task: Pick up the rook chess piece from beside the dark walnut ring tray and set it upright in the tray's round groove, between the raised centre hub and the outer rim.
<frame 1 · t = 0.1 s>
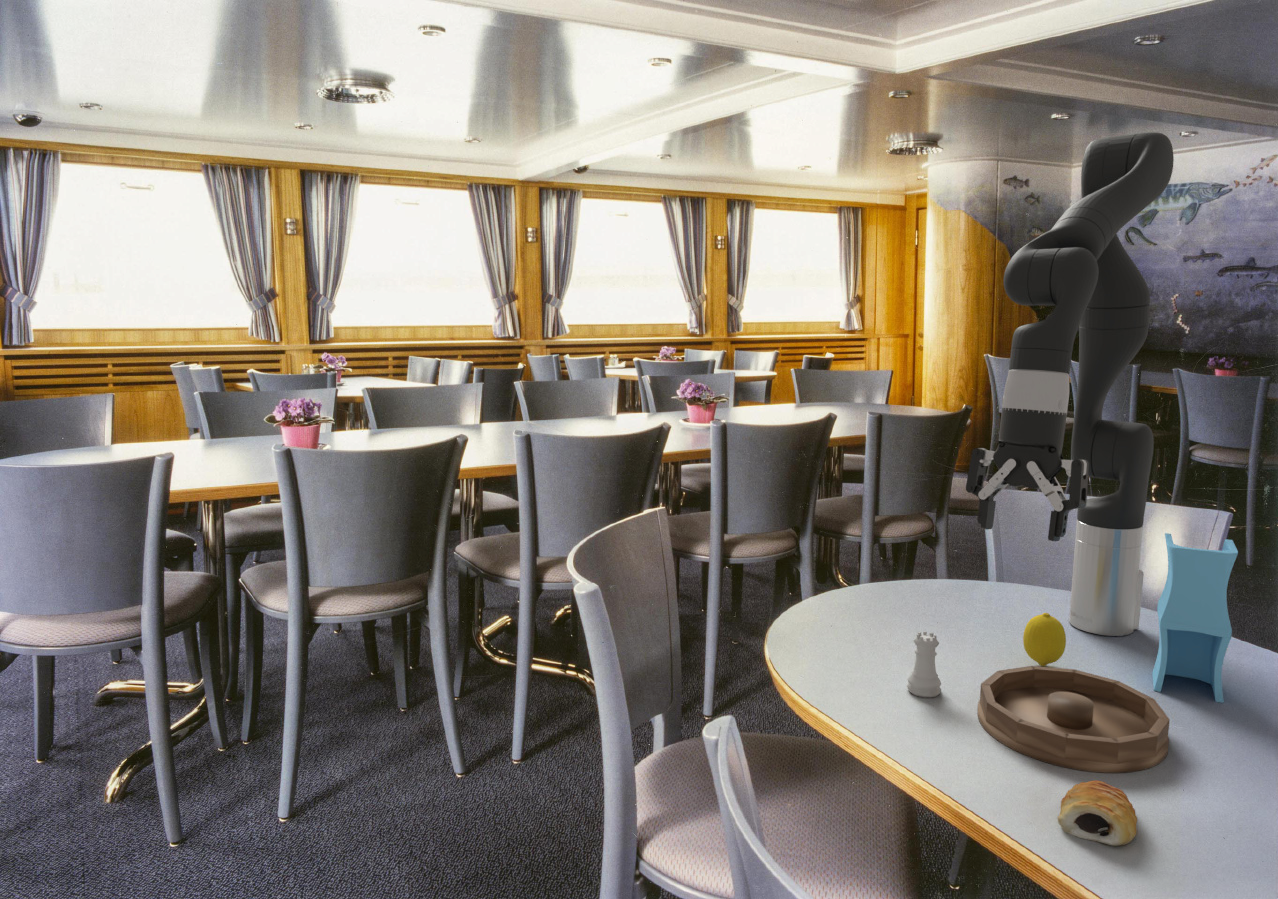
hand: (1019, 534, 111), 22 cm above the table, tool pointing down, fingers open, 8 cm apart
ring tray: (1068, 727, 107), on the table
pastry: (1095, 826, 87), on the table
rook chess piece: (923, 692, 117), on the table
lemon: (1042, 667, 125), on the table
blue wavy stand: (1185, 686, 118), on the table
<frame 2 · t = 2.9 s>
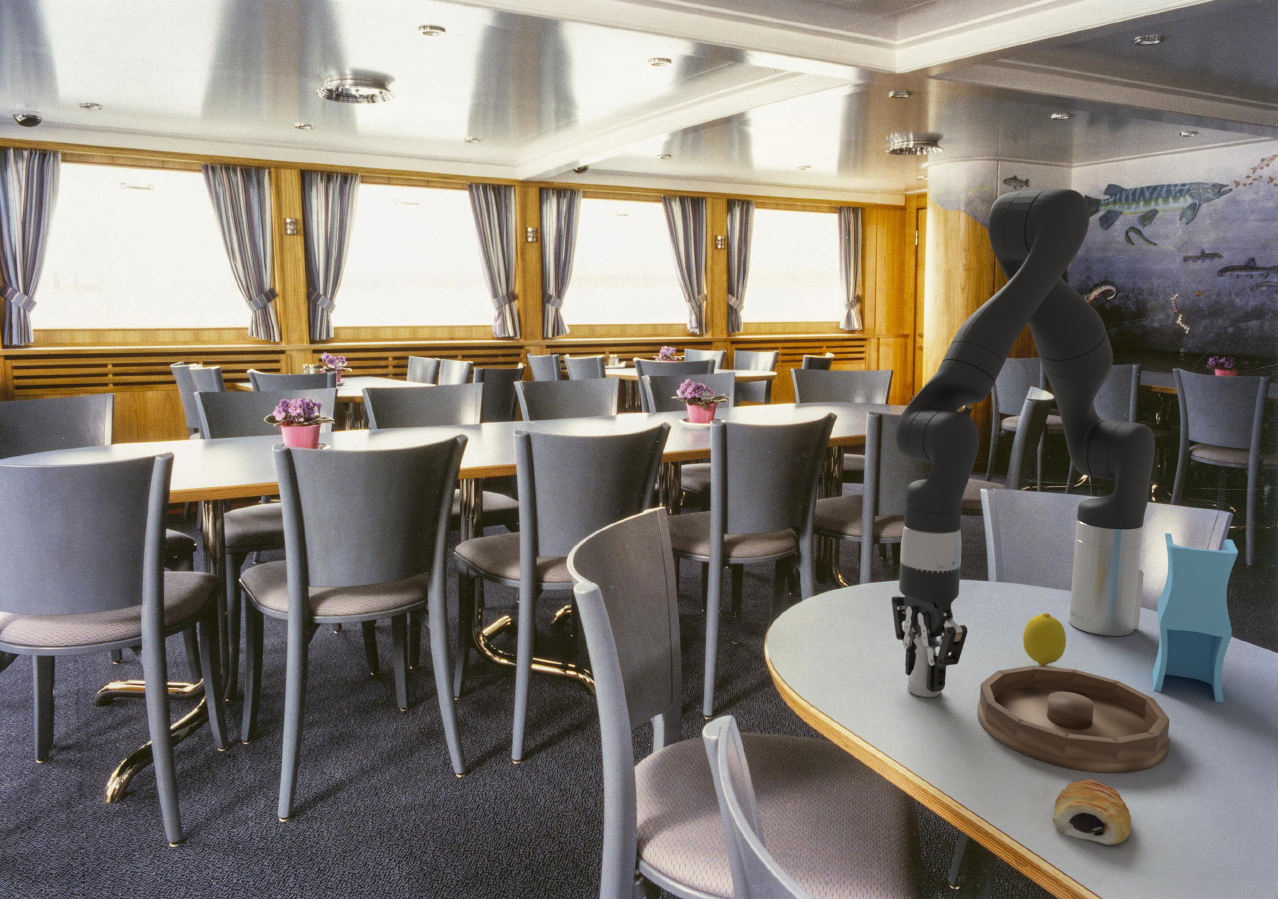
hand: (924, 681, 117), 1 cm above the table, tool pointing down, fingers closed on rook chess piece, 4 cm apart
rook chess piece: (923, 692, 117), on the table, touching gripper
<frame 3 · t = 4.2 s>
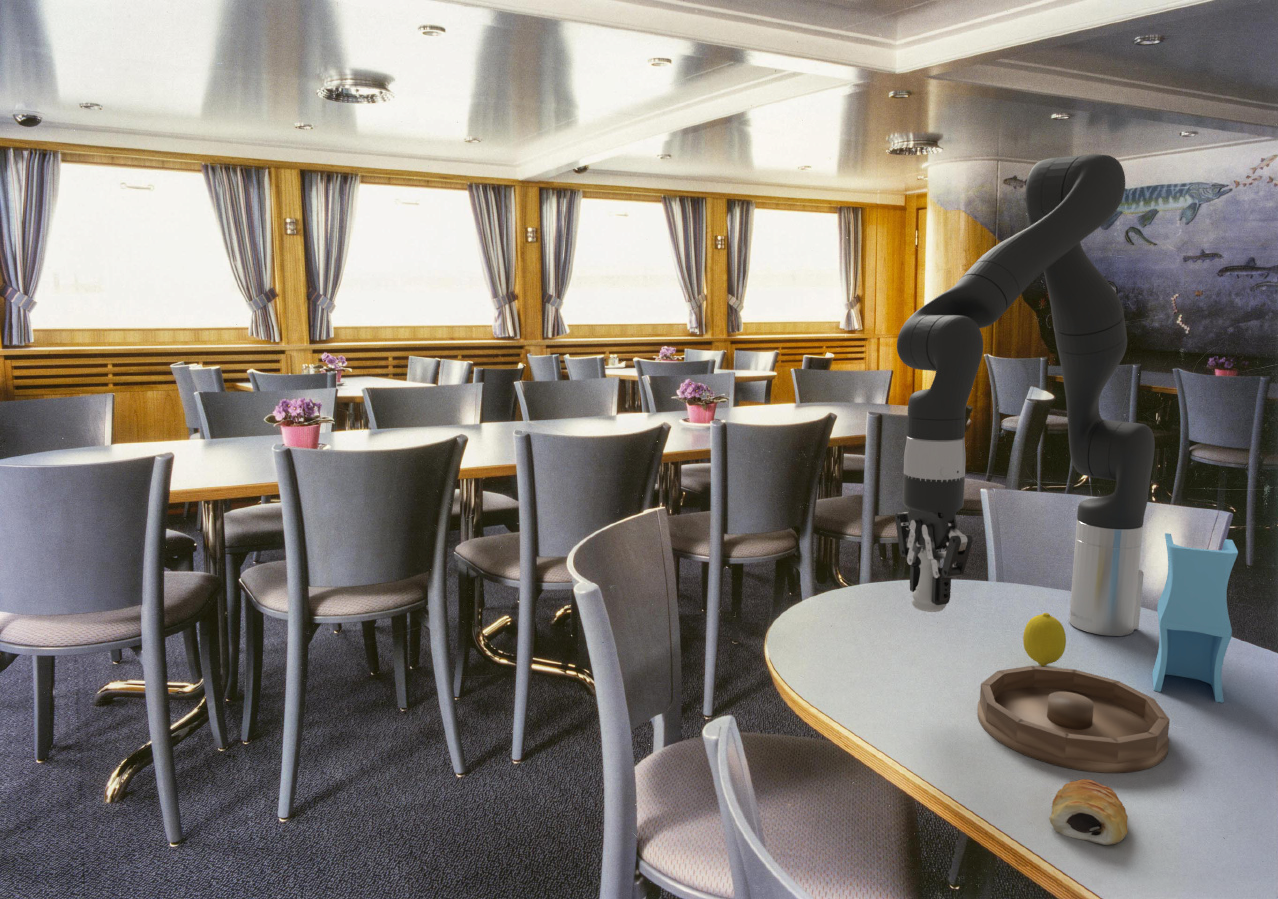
hand: (928, 596, 115), 13 cm above the table, tool pointing down, fingers closed on rook chess piece, 4 cm apart
rook chess piece: (928, 608, 115), point 12 cm above the table, touching gripper
everything else where it was.
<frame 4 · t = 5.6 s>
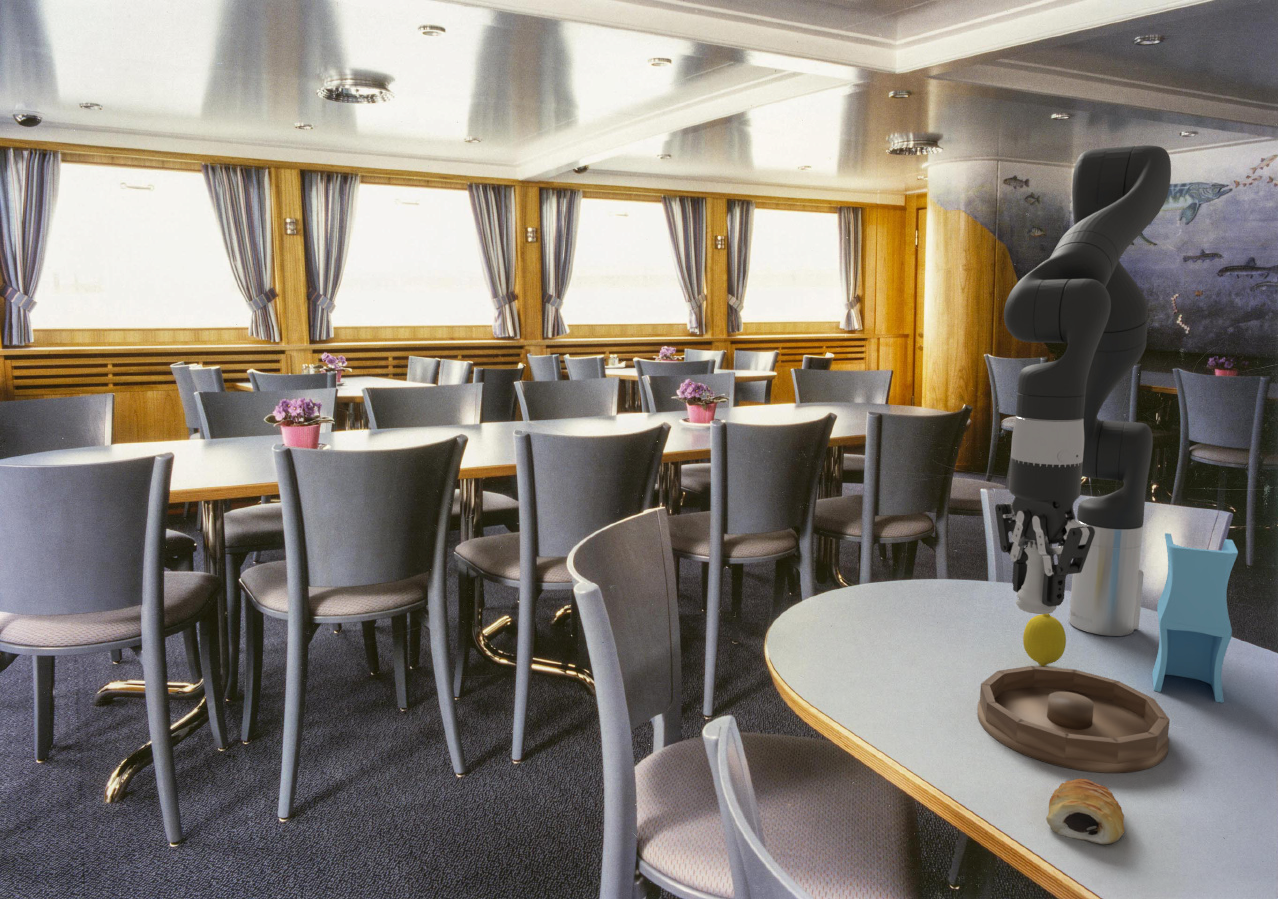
hand: (1036, 597, 103), 17 cm above the table, tool pointing down, fingers closed on rook chess piece, 4 cm apart
rook chess piece: (1035, 610, 103), point 16 cm above the table, touching gripper
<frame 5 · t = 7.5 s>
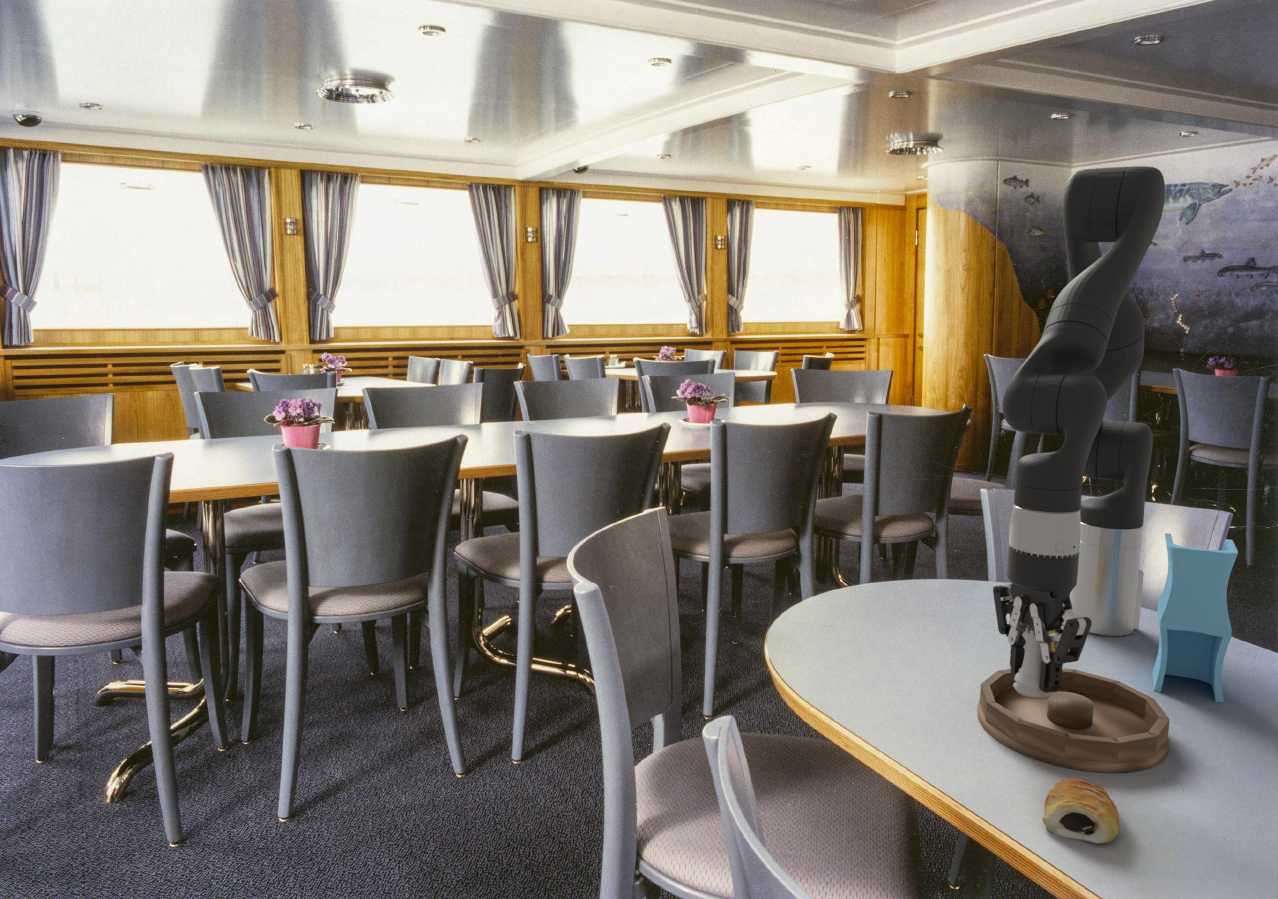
hand: (1033, 681, 104), 7 cm above the table, tool pointing down, fingers closed on rook chess piece, 4 cm apart
rook chess piece: (1032, 693, 104), point 5 cm above the table, touching gripper
when the fingers open (3 cm above the table, at t = 8.7 s): rook chess piece stays where it is, resting on ring tray.
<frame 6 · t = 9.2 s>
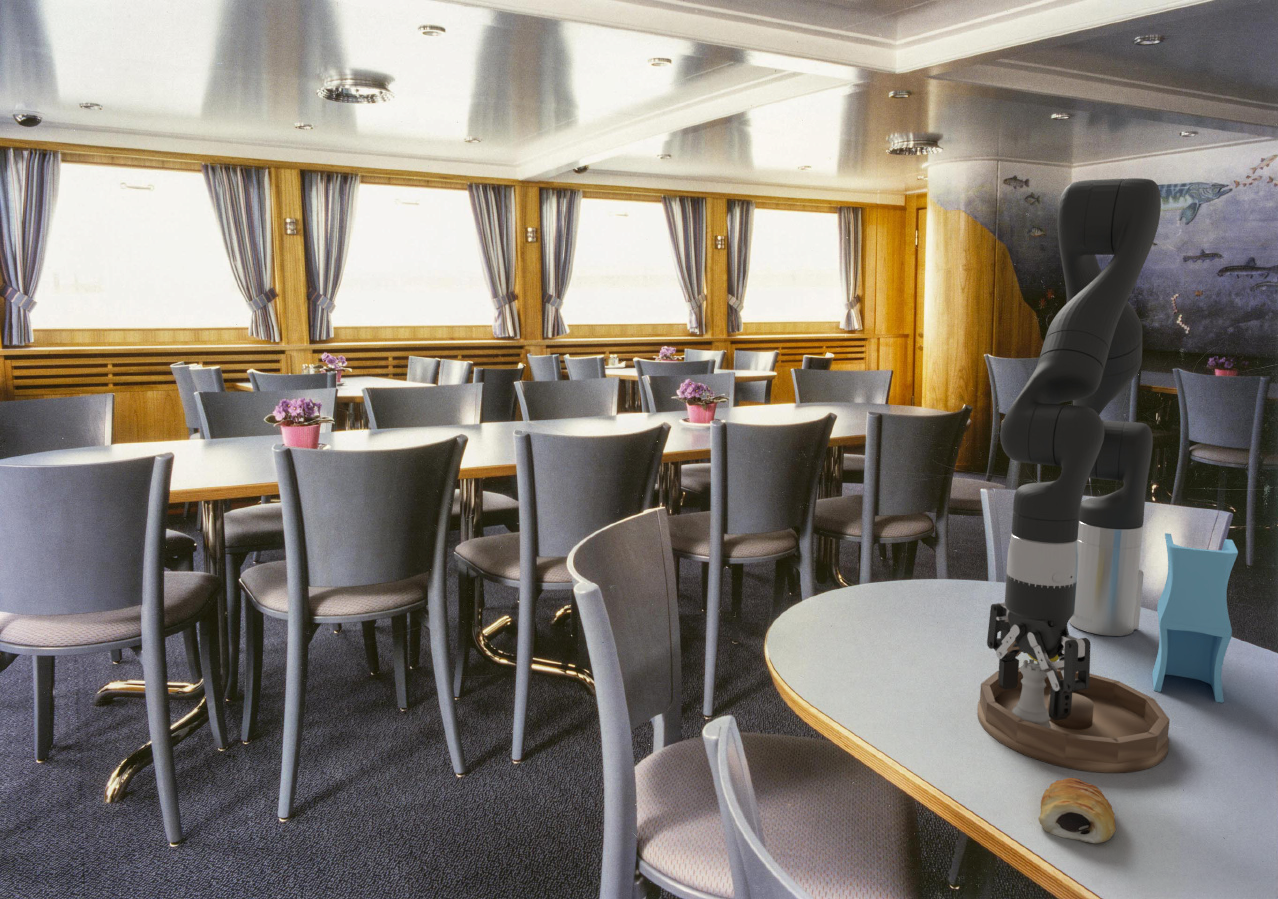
hand: (1032, 702, 104), 4 cm above the table, tool pointing down, fingers open, 8 cm apart
rook chess piece: (1030, 727, 105), point 1 cm above the table, touching ring tray
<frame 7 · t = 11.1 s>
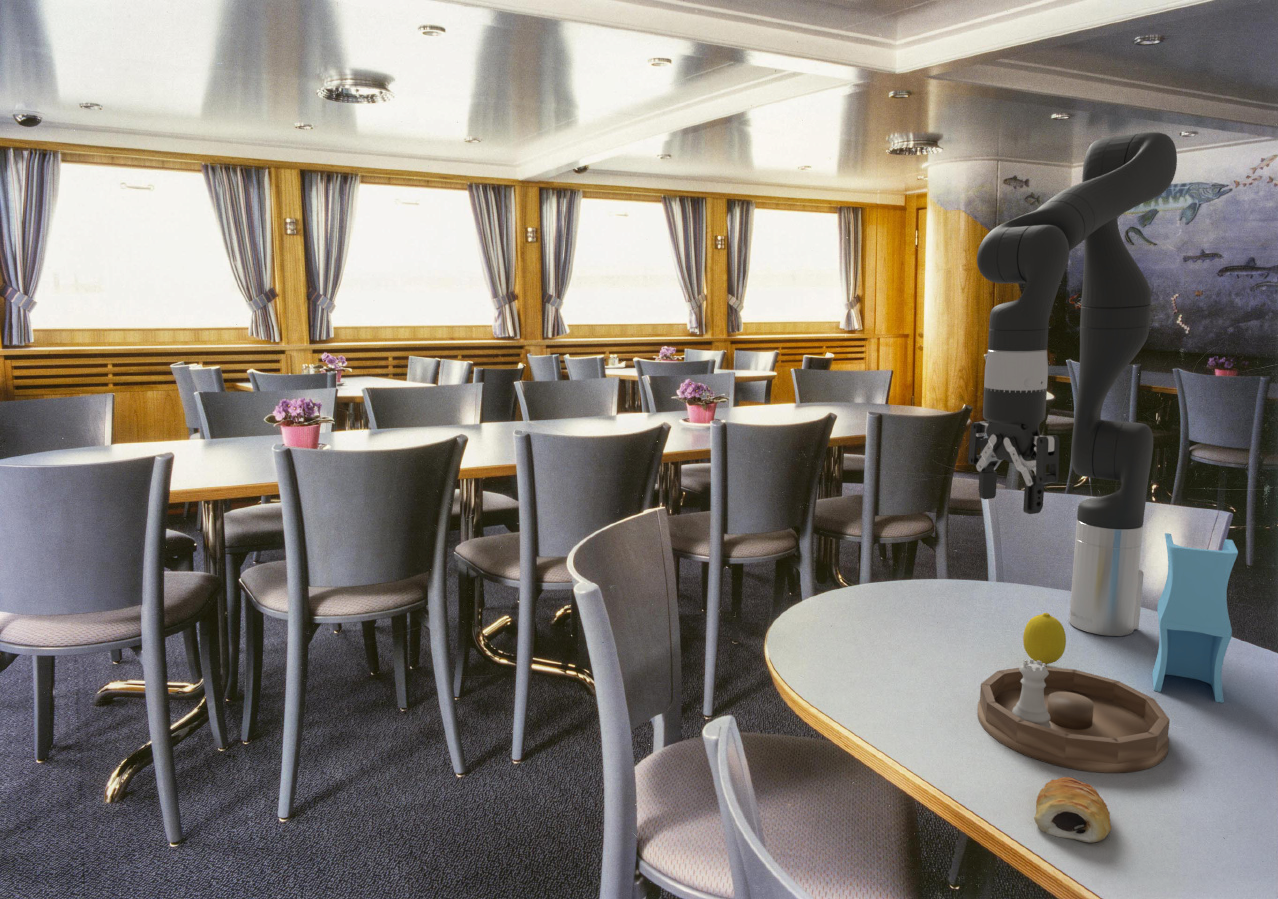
hand: (1008, 505, 116), 25 cm above the table, tool pointing down, fingers open, 8 cm apart
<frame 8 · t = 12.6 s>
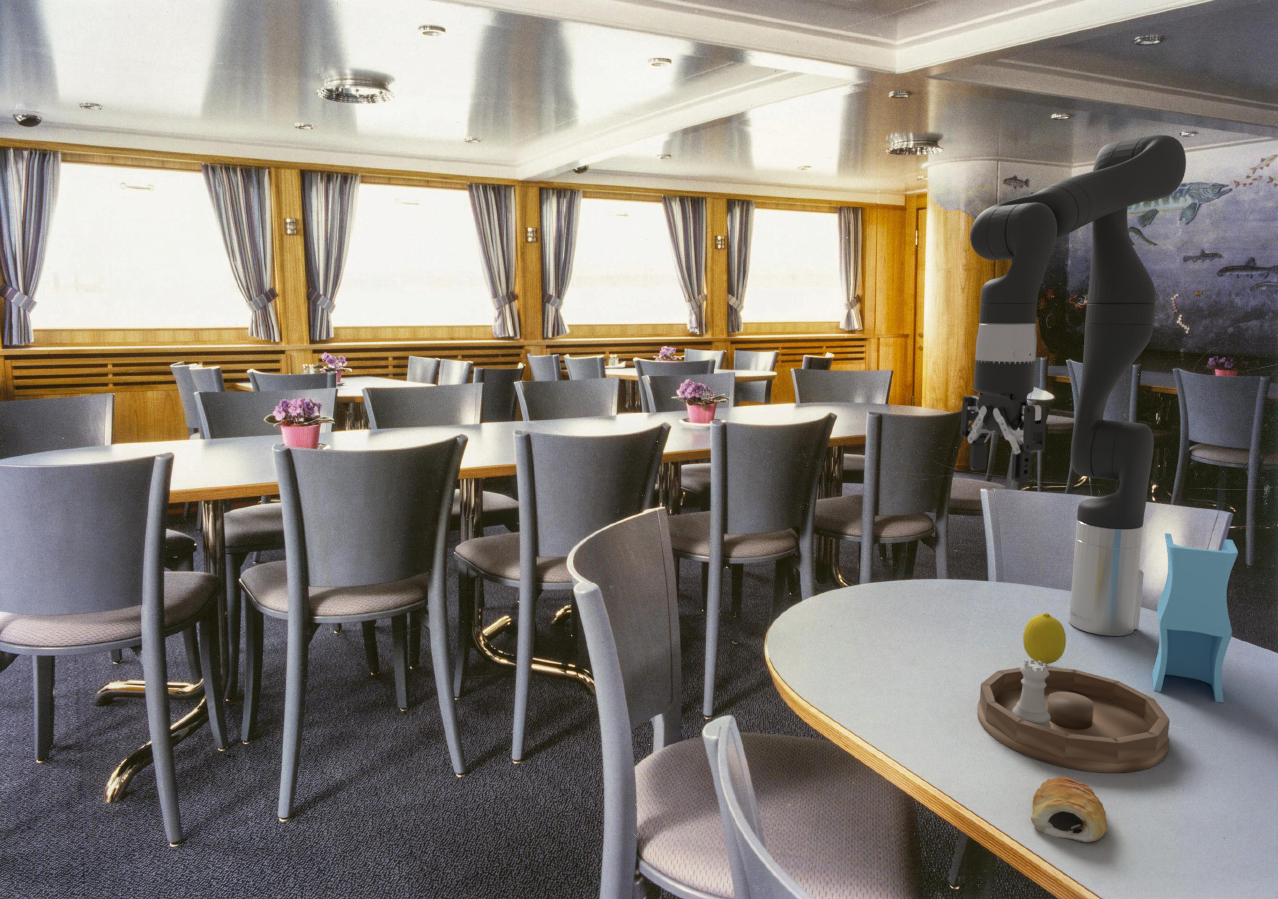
hand: (997, 475, 120), 28 cm above the table, tool pointing down, fingers open, 8 cm apart
at the end: rook chess piece 0.1 cm from the target spot on the ring tray, point 0.8 cm above the ring tray's base; rook chess piece tilted 0°; the gripper is holding nothing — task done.
